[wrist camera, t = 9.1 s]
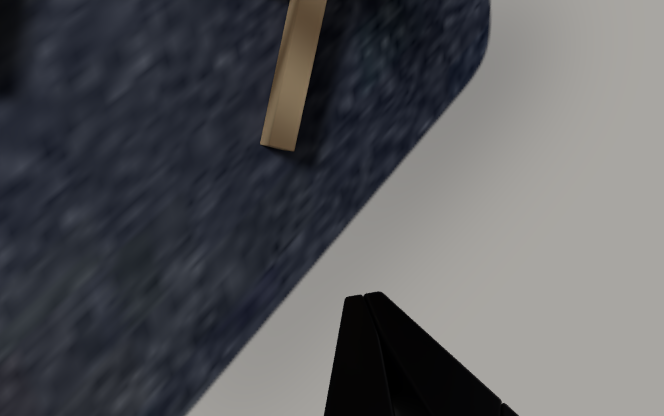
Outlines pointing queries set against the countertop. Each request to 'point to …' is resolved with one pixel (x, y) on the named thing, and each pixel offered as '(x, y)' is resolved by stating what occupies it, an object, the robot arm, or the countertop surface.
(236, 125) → the countertop surface
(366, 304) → the robot arm
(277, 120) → the guide rails
